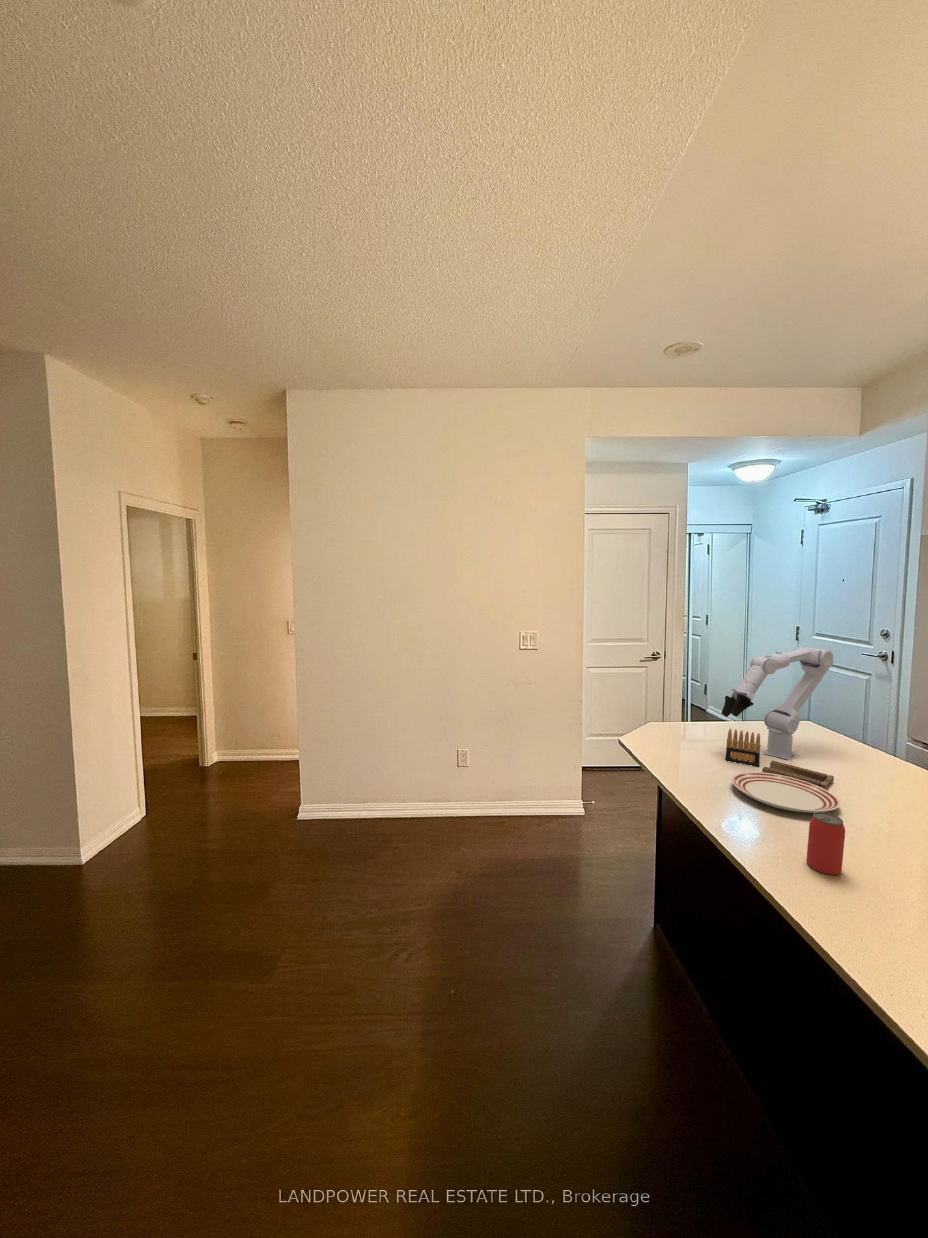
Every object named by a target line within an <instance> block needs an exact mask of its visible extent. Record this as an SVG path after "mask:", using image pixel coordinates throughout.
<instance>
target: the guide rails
mask: <svg viewBox="0 0 928 1238" xmlns="http://www.w3.org/2000/svg"><path fill="white" fill-rule="evenodd" d="M769 763H770V764H769V767H768V766H764V767H762V771H761V772H763V773H772V774H778V775H783V776H788V777H792V778H796V779H799V780H802V781H806V782H809V783H811V784H814V785H817V786H819V787H821V788H823V789H825V790H827V791H828V790H829V788H830V787H831V786H832V784H833V783H834V780H835V776H834V775H832V774H831V775H830V774H827V773H823V772H819V771H815V770H812V769H808V768H803V767H800V766H796V765H792V764H788V763H785V762H780V761H777V760H771V761H770V762H769Z"/></svg>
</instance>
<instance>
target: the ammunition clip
mask: <svg viewBox="0 0 928 1238" xmlns="http://www.w3.org/2000/svg"><path fill="white" fill-rule="evenodd" d="M732 733H733V732H732V728H731V727H730V728H729V730H728V734H727V739H726V749H725V757H724V761H725V760H726V761H725V762H728V761H730V762H729V763H734V762H736V763H735V764H739V763H742V764H741V765H744V764H745V765H744V766H750V765H752V766H751V767H756V768H760V762H761V761H760V759H761V757H760V756H761V734H760V732H757V734H756V739H755V732H754V731H753V732H751V734H749V731H748V730H746V732H745V735H744V733H743V730H740V732H739V736H738V730H737V729H735V730H734V733H733V734H732ZM749 735H750V737H749ZM732 736H733V737H732ZM749 739H750V740H749Z"/></svg>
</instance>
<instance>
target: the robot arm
mask: <svg viewBox="0 0 928 1238" xmlns="http://www.w3.org/2000/svg"><path fill="white" fill-rule="evenodd" d="M796 662H799V664H800V666H801V670H802V671H803V672H804V674H803V675H802V677H801V678H800V680H799V681H798V683H796V686H794V688H793V689H792V690H791V691H790V693H789V695H788V696H787V697H786V699H785V700H784V702H783V703H782V704H780V705H776V706H773V707H772V708H771V709H770V710H769V711H767V712H766V713H765V714H764V715H765V716H764V718H763V723H764V725H765V726H766V729H767V730H768V734H767V746H766V747H767V748H766V750H765V751H763V753H762V754H764V755H767V756H771V757H776V758H780V759H783V760H789V759H791V757H793V756H794V755H795V752H793V750H792V749H793V735H794V733H796V732H797V730H798V728H799V724H800V722H801V721H802V720H801V717H800V715H799V711H800V710H801V709H802V707H803V706H804V704H805V703H806V702H807V701H808V699H809V698H810V696H811V695H812V693H813V692H814V690H815V689H816V688H817V686H818V685H819V684H820V682H821V681H822V680H823V678H824V676H825V675H826V674H827V672H828V671H829V670H830V668H831V667H832V665H833V664H834V653H833V651H831V650H830V649H822V648H817V647H809V646H805V645H804V646H801V647H800V646H799V647H798V649H795V650H792V651H790V652H786V653H785V652H783V651H779V650H777V651H775V653H772V654H766V655H765V656H760V655H758V656H756V657H753V658H751V659H750V663H749V667H748V669H747V673H746V674H745V676H743V678H742V680H741V681H740V683H739V684H738V686H737V687H732V688H731V691H732V693H731V694H730V696H729V695H725V697H724V704H723V708H722V710H721V713H720V714H721V715H722V716H724V717H726V718H727V717H729V716H730V715H733V716H734V717H738V716H739V715H741V714H742V713H743V712H744V711H745V710H746V709H748V708H750V707H752V706H754V702H753V701H752V700H753V699H754V698H755V697H756V693H757V691H758V689H759V688H760V687H761V685H762V684H763V682H764V681H765V680H766V678H767V676H768V675H774V674H775V673H776V672H777V670H780V669H784V668H787V667H789V666H790V664H791V663H796Z"/></svg>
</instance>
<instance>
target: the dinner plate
mask: <svg viewBox="0 0 928 1238" xmlns="http://www.w3.org/2000/svg"><path fill="white" fill-rule="evenodd" d="M731 783H732V785H733V786H734V787H735V788H736V789H738V790H739V792H741V793H743V794H744V795H746V796H747V797H750V799H753V800H755V801H757V802H759V803H762V804H764V805H766V806H769V807H772V808H775V809H779V810H783V811H786V812H787V811H788V812H793V813H795V812H796V813H811V814H812V813H815V812H824V813H827V812H831V811H834V810H837V809H839V808H840V806H841V801H840V799H839V798H838V797H837V796H836V795H835V794H833V793H832V792H830V791H829V790H828V789H827V790H825V789H823V788H821V787H819V786H817V785H814V784H811V783H809V782H806V781H802V780H799V779H796V778H792V777H788V776H783V775H778V774H772V773H763V772H762V771H744V772H739V773H736V774H734V775H732V777H731Z"/></svg>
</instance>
